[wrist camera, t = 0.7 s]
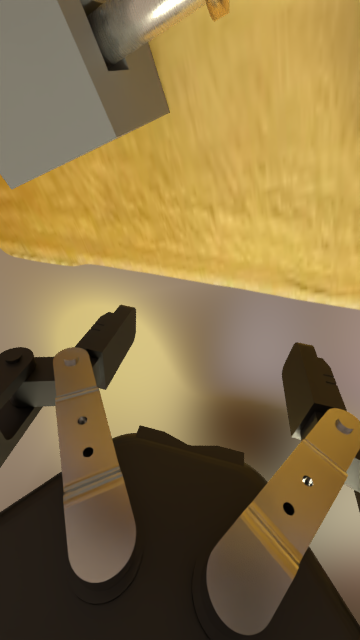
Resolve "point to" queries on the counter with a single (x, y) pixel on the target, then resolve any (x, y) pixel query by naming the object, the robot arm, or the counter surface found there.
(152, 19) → the shaft
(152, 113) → the bearing block
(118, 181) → the counter surface
